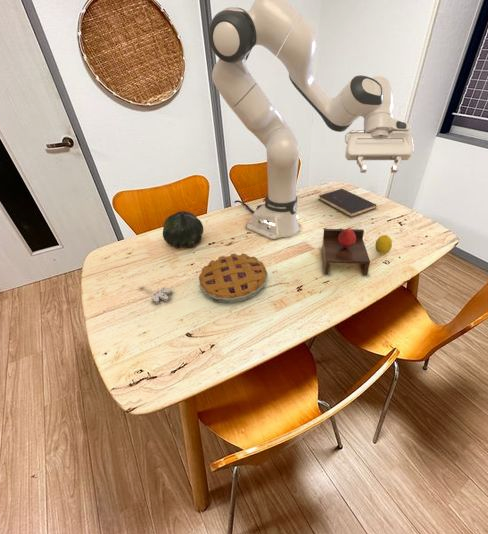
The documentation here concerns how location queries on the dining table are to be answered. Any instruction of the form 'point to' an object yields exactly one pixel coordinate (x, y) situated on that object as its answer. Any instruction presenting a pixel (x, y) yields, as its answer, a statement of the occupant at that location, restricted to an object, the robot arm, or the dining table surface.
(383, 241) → the lemon
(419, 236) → the dining table surface
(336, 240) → the shelf
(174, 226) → the squash
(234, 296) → the pie
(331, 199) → the hardcover book
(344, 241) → the red round solid
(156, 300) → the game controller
